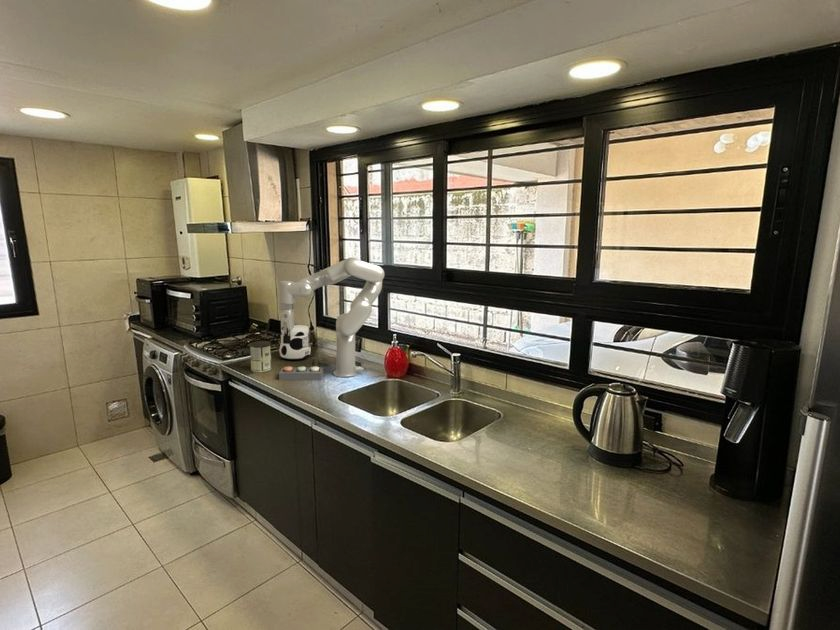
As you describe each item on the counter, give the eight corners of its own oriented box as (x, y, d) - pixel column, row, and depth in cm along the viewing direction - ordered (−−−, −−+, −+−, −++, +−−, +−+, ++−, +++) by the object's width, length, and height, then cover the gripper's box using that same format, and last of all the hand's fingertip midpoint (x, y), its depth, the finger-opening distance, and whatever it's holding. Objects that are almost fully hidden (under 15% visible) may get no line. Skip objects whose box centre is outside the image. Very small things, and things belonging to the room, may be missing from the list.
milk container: (280, 354, 255) (279, 324, 252) (310, 353, 260) (310, 324, 257) (278, 362, 239) (278, 330, 236) (311, 361, 244) (310, 330, 241)
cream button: (319, 370, 219) (319, 366, 219) (318, 372, 215) (318, 368, 215) (311, 370, 219) (311, 366, 218) (310, 372, 215) (310, 368, 214)
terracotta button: (293, 370, 217) (293, 366, 217) (291, 372, 213) (291, 368, 213) (284, 370, 217) (284, 366, 216) (283, 372, 213) (283, 368, 213)
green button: (306, 370, 218) (306, 366, 218) (305, 372, 214) (305, 368, 214) (298, 370, 218) (298, 366, 217) (296, 372, 214) (296, 368, 213)
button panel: (323, 374, 222) (323, 367, 222) (321, 380, 213) (321, 373, 213) (282, 374, 220) (282, 367, 219) (279, 380, 210) (278, 373, 210)
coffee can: (256, 365, 232) (255, 340, 229) (274, 367, 231) (274, 341, 228) (246, 371, 222) (246, 344, 219) (266, 372, 221) (265, 346, 218)
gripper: (292, 309, 203) (292, 347, 206) (297, 304, 217) (297, 340, 220) (275, 308, 202) (275, 346, 205) (281, 303, 216) (281, 339, 219)
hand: (286, 343), depth 212 cm, fingers closed
